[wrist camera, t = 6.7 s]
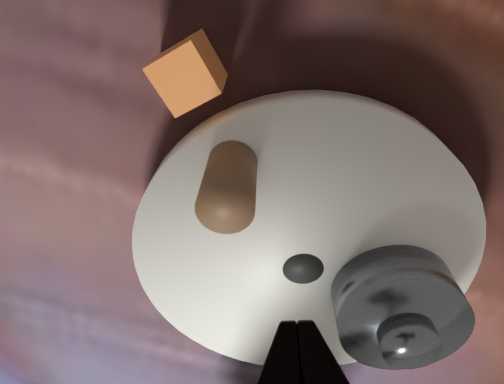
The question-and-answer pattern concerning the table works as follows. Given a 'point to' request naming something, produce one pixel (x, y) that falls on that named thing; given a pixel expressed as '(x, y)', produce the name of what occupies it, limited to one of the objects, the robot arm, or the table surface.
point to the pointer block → (187, 74)
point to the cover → (399, 308)
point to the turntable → (294, 214)
